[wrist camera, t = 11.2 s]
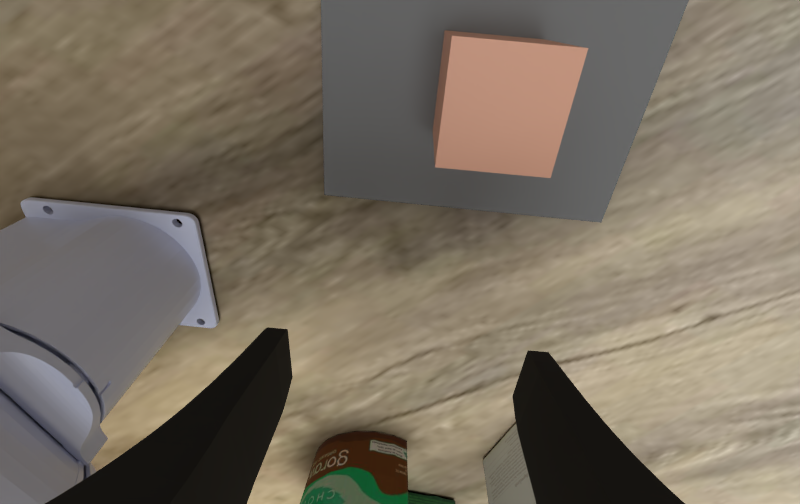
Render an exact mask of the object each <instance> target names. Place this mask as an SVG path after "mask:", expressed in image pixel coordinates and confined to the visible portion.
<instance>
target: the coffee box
mask: <svg viewBox="0 0 800 504" xmlns="http://www.w3.org/2000/svg"><path fill="white" fill-rule="evenodd" d="M408 504H455V501H454V500H448V499H443V498H440V497H438V496H427V495H421V494H416V493H410V492H408Z"/></svg>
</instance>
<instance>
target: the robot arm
mask: <svg viewBox="0 0 800 504" xmlns="http://www.w3.org/2000/svg"><path fill="white" fill-rule="evenodd" d="M21 208H22V210H23V212H24V214H25V217H26V218H24V219H22V220H20V221H18V222H16V223H14V224H12V225H10V226H8V227H6V228H4V229H2V230H0V504H247V501H248V498H249V496H250V493H251V490H252V487H253V485H254V482H255V479H256V477H257V475H258V472H259V470H260V467H261V465H262V462H263V460H264V457H265V455H266V452H267V450H268V447H269V445H270V442H271V440H272V437H273V435H274V432H275V430H276V427H277V425H278V422H279V420H280V417H281V415H282V412H283V409H284V406H285V402H286V399H287V395H288V392H289V388H290V384H291V380H292V368H291V358H290V349H289V339H288V329H278V328H266V329H265V330H264V331H263V332H262V333H261V334H260V335H259V336H258V337H257V338H256V339H255V340H254V341H253V342H252V343H251V344H250V345H249V346H248V347H247V348H246V349H245V351H244V352H243V353H242V354H241V355H240V356H239V357H238V358H237V359H236V360H235V361H234V362H233V363H232V364H231V365H230V366H229V367H228V368H226V369H225V370H224V371H223V372H222V373H221V374H220V375H219V376H218V377H217V378H216V379H215V380H214V381H213V382H212V383H211V384H210V385H209V386H208V387H206V388H205V389H204V390H203V391H202V392H201V393H200V394H198V395H197V396H196V397H195V398H194V399H193V400H192V401H191V402H189V403H188V404H187V405H186V406H185V407H184V408H183V409H181V410H180V411H179V412H178V413H176V414H175V415H174V416H173V417H172V418H170V419H169V420H168V421H167V422H165V423H164V424H163V425H162V426H160V427H159V428H158V429H156V430H155V431H154V432H152V433H151V434H150V435H149V436H147V437H146V438H144V439H143V440H142V441H140V442H139V443H137V444H136V445H135V446H133V447H132V448H131V449H129V450H128V451H126V452H125V453H124V454H122V455H121V456H119V457H118V458H116V459H115V460H113V461H112V462H111V463H109V464H108V465H106V466H105V467H103V468H102V469H100V470H99V471H97V472H96V469H95V468H94V466H93V465H92V464H91V463H90V462H91V461H92V459H93V458H94V457H95V455H96V454H97V453H98V451H99V450H100V449H101V447H102V446H103V445H104V443H105V442H106V441H107V439H108V438H107V436H106V435H105V434H104V433H103V431H102V429H101V427H100V423H101V422H102V421H103V420H104V419H105V417H106V416H107V415H108V414H109V412H110V411H111V410H112V409H113V407H114V406H115V405H116V403H117V402H118V401H119V400H120V398H121V397H122V396H123V395H124V393H125V392H126V391H127V390H128V388H129V387H130V386H131V385H132V383H133V382H134V381H135V380H136V378H137V377H138V376H139V375H140V373H141V372H142V371H143V370H144V368H145V367H146V366H147V364H148V363H149V362H150V361H151V359H152V358H153V357H154V356H155V354H156V353H157V352H158V351H159V349H160V348H161V347H162V346H163V344H164V343H165V342H166V341H167V339H168V338H169V337H170V336H171V334H172V333H173V332H174V331H175V329H176V328H177V327H178V325H185V326H195V327H205V328H214V327H216V326H217V324H218V323H219V317H218V312H217V308H216V303H215V298H214V293H213V288H212V283H211V278H210V273H209V269H208V264H207V259H206V254H205V249H204V244H203V239H202V235H201V230H200V225H199V221H198V219H197V218H196V217H195V216H194V215H193V214H190V213H184V212H174V211H164V210H154V209H144V208H134V207H124V206H114V205H104V204H94V203H84V202H74V201H64V200H54V199H44V198H33V197H29V198H26V199H24V200H23V201H21ZM50 208H52V209H50ZM176 219H179V220H180V221H181V222H182V224H180V223H179V222H177V220H176ZM201 319H203V320H204V321H203V320H201ZM513 403H514V411H515V418H516V425H517V431H518V435H519V439H520V443H521V447H522V451H523V455H524V459H525V463H526V466H527V470H528V474H529V478H530V482H531V485H532V489H533V493H534V497H535V501H536V504H685V503H684V502H682V501H681V500H680V499H679V498H678V497H677V496H676V495H675V494H674V493H673V492H671V491H670V490H669V489H668V488H667V487H666V486H665V485H664V484H663V483H662V482H661V481H660V480H659V479H658V478H657V477H656V476H655V475H654V474H653V473H652V472H651V471H650V470H649V469H648V468H647V467H646V466H645V465H644V464H642V463H641V461H640V460H639V459H638V458H637V457H636V456H635V455H634V454H633V453H632V452H631V451H630V450H629V449H628V448H627V447H626V446H625V445H624V444H623V442H622V441H621V440H620V439H619V438H618V437H617V436H616V435H615V434H614V433H613V432H612V430H611V429H610V428H609V427H608V426H607V425H606V424H605V422H604V421H603V420H602V419H601V418H600V416H599V415H598V414H597V413H596V412H595V410H594V409H593V408H592V407H591V406H590V404H589V403H588V402H587V401H586V400H585V398H584V397H583V396H582V395H581V393H580V392H579V391H578V390H577V388H576V387H575V386H574V384H573V383H572V382H571V381H570V379H569V378H568V377H567V376H566V374H565V373H564V372H563V370H562V369H561V368H560V367H559V365H558V364H557V363H556V361H555V360H554V359H553V358H552V356H551V355H550V354H549V353H548V352H539V351H528V352H527V355H526V358H525V361H524V364H523V367H522V370H521V373H520V376H519V379H518V382H517V385H516V388H515V391H514V394H513Z"/></svg>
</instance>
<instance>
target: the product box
mask: <svg viewBox="0 0 800 504" xmlns="http://www.w3.org/2000/svg"><path fill="white" fill-rule="evenodd" d="M483 465H484V472H485V479H486V487H487V495H488V502H489V504H536V501H535V497H534V493H533V489H532V485H531V482H530V478H529V474H528V470H527V466H526V463H525V459H524V455H523V451H522V447H521V443H520V439H519V435H518V431H517V425H516V424H515V425H514V426H513V427H512V428H511V429H510V430H509V431H508V433H507V434H506V435H505V436H504V437H503V438H502V439H501V441H500V442H499V443H498V444H497V445H496V446H495V447H494V448H493V449H492V450H491V452H490V453H489V454H488V455H487V456H486V457H485V458H484V460H483Z"/></svg>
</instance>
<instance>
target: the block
mask: <svg viewBox="0 0 800 504" xmlns="http://www.w3.org/2000/svg"><path fill="white" fill-rule="evenodd" d="M587 51H588V48H585V47H580V46H575V45H570V44H565V43H560V42H555V41H550V40H545V39H535V38H524V37H513V36H502V35H491V34H480V33H469V32H458V31H447V30H445V31H444V40H443V48H442V57H441V65H440V73H439V82H438V90H437V98H436V107H435V115H434V124H433V144H434V159H435V167H437V168H447V169H458V170H469V171H479V172H490V173H501V174H511V175H522V176H533V177H544V178H551V175H552V171H553V168H554V164H555V161H556V158H557V154H558V151H559V147H560V144H561V140H562V137H563V134H564V130H565V127H566V123H567V120H568V116H569V113H570V110H571V106H572V103H573V99H574V96H575V92H576V89H577V86H578V82H579V79H580V75H581V72H582V68H583V65H584V62H585V58H586V55H587Z"/></svg>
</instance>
